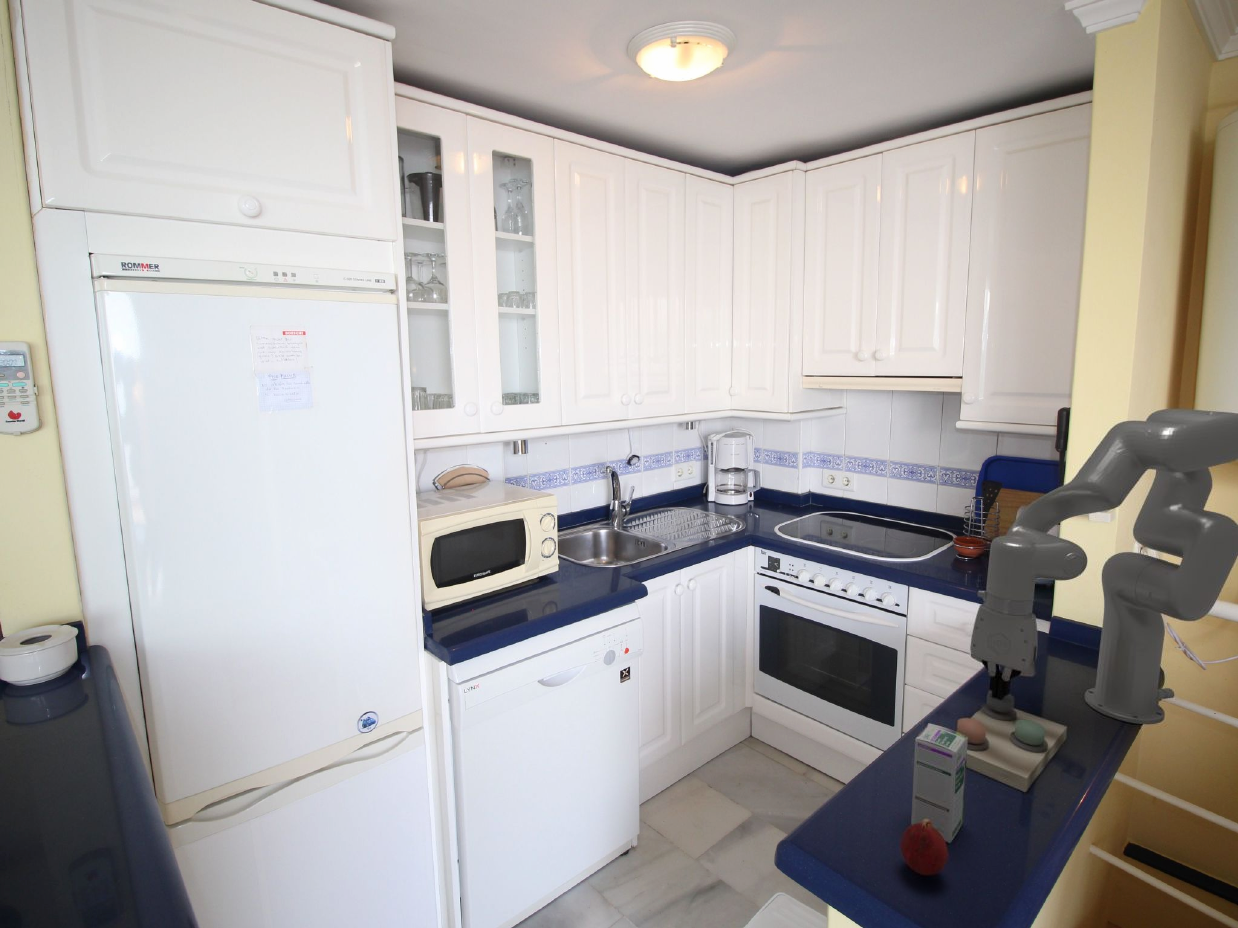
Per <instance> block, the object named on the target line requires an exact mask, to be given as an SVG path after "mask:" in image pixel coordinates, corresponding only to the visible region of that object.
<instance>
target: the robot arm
mask: <svg viewBox="0 0 1238 928" xmlns="http://www.w3.org/2000/svg"><path fill="white" fill-rule="evenodd" d="M1105 434H1106V435H1105V436H1104V437H1103V439H1102V440H1101V441H1100V442H1099V444H1098V445H1097V446H1096V447H1095V449H1094V451H1092V453H1091V454H1090V456H1089V457H1088V459H1086V461H1085V462H1084V464H1083V465H1082V467H1081V468H1080V469H1079V470H1078V472H1077V473H1076V475H1075V476H1074V477H1073V478H1072V479H1071V481H1069V482H1068V483H1066V484H1064V485H1061V486H1059V487H1056V488H1055V489H1053V490H1051V491H1049V492H1047V493H1046V494H1044V495H1042V496H1041V497H1039V498H1037V499H1036V500H1033V501H1032V502H1031V503H1030V504H1028V505H1027V506H1026V507H1025V508H1024V509H1023V510H1022V511H1021V513H1019V515H1018V516H1017V518H1016V519H1015V520H1014V522H1013V523H1012V524H1011V526H1010V527H1009V529H1008V530H1007V533H1006V534H1005V535H1002V536H1001V535H1000V536H997V537H995V538H993V539H992V541H991V543H990V550H989V559H988V567H987V568H988V570H987V580H986V590H978V591H977V598H981V599H983V603H982V604H980V605H979V607H978V610H977V612H976V616H975V619H974V624H973V628H972V634H971V639H970V649H969V650H970V658H972V659H973V660H975V661H976V662H979V663H981V664H982V666H984V668H985V669H986V670H987V673H988V675H989V676H990V680H989V691H991V690H992V695H991V696H992V697H994V698H995V697H997V698H998V699H999V700H1002V699H1003V698H1004V697H1005V696H1008V695H1009V694H1010V691H1011V685H1012V684H1011V683H1012V682H1011V681H1012V679H1013V678H1016V677H1018V676H1022V677H1023V676H1024V677H1031V678H1032V677H1034V676H1035V675H1036V674H1037V672H1036V666H1035V664H1036V662H1037V657H1038V626H1037V624H1038V623H1037V617H1036V615H1035V614H1034V613H1033V606H1034V595H1035V588H1036V587H1035V585H1036V580H1038V579H1042V580H1051V581H1069V580H1074V579H1076V578H1077V577H1079V576H1081V575H1082V574H1083V573H1084V572H1085V570H1086V568H1087V566H1088V556H1087V553H1086V551H1084V549H1083V548H1082V547H1081V546H1080V545H1078V544H1077V543H1075V542H1073V541H1071V540H1068V539H1065V538H1062V537H1059V536H1055V535H1053V534H1050V533H1049V532H1050V530H1052V529H1053V528H1054V527H1055V526H1057V525H1059V523H1062V522H1064V521H1066V520H1068V519H1071V518H1074V517H1077V516H1083V515H1084V516H1085V515H1088V514H1089V515H1090V514H1096V513H1101V512H1106V511H1111V510H1115V509H1117V508H1118V507H1120V506H1121V505H1122V504H1123V502H1124V501H1125V500H1126V498H1127V497H1128V496H1129V494H1130V493H1131V492H1132V490H1133V489H1134V488H1135V486H1136V485H1137V483H1138V482H1139V481H1140V479H1141V478H1142V477H1143V476H1144V474H1145V473H1146V472H1147V471H1148V470H1154V471H1155V476H1154V478H1153V482H1152V484H1151V487H1150V489H1149V491H1148V493H1147V495H1146V497H1145V500H1143V501H1144V502H1143V504H1142V506H1141V508H1140V510H1139V513H1138V515H1137V517H1136V520H1135V522H1134V524H1133V529H1132V534H1133V538H1134V540H1135V541H1136V542H1137V543H1138V544H1140V545H1141V546H1143V547H1146V548H1148V549H1150V550H1154V551H1156V552H1160V553H1163V554H1167V555H1171V556H1174V557H1177V558H1180V559H1181V561H1180V563H1179V564H1177V563H1173V562H1170V561H1169V560H1166V559H1161V558H1158V557H1155V556H1151V555H1147V554H1144V553H1139V552H1131V551H1124V552H1118V553H1116V554H1113V555H1111V556H1110V557H1109V558H1108V559H1107V560H1106V561H1105V563H1104V564H1103V566H1102V570H1101V586H1102V592H1103V593H1102V594H1103V605H1104V606H1103V619H1102V628H1101V637H1100V644H1099V654H1098V662H1097V669H1096V670H1097V671H1096V679H1095V681H1096V682H1095V687H1092V688H1089V689H1087V690H1086V691H1085V693H1084V700H1085V702H1086V704H1088V705H1089V707H1091V708H1092V709H1093V710H1096V711H1097V712H1099V713H1100V714H1103V715H1105V716H1107V717H1110V718H1113V719H1116V720H1118V721H1123V722H1126V723H1131V724H1137V725H1157V724H1159V723H1161V722H1163V721H1164V720H1165V715H1166V713H1165V710H1164V709H1163V707H1161V705H1160V702H1161V701H1162V700H1166V699H1173V698H1174V697H1175V692H1174V690H1173V689H1171V687H1164V688H1158V687H1159V680H1160V672H1161V665H1162V658H1163V657H1162V656H1163V650H1164V640H1165V632H1166V629H1165V622H1164V619H1163V616H1162V615H1164V616H1166V617H1170V618H1172V619H1176V620H1179V621H1184V622H1196V621H1198V620H1201V619H1203V618H1205V617H1206V616H1207V615H1208V614H1209V612H1210V611H1211V610H1212V609H1213V607H1214V605H1215V604H1216V602H1217V600H1218V598H1219V596H1220V594H1221V592H1222V589H1223V588H1224V585H1225V584H1226V582H1227V579H1228V578H1229V575H1230V573H1231V572H1232V569H1233V568H1234V565H1235V563H1236V561H1237V559H1238V523H1237V522H1236V521H1235V520H1234V519H1233V518H1232V517H1230V516H1228V515H1225V514H1223V513H1220V512H1219V513H1218V512H1215V511H1211V510H1207V509H1205V507H1206V505H1207V503H1208V499H1209V497H1210V495H1211V493H1212V489H1213V476H1212V472H1211V471H1210V468H1212V467H1216V466H1219V465H1224V464H1229V463H1232V462H1235V461H1237V460H1238V413H1236V412H1231V411H1230V412H1229V411H1216V410H1202V409H1201V410H1200V409H1190V408H1189V409H1188V408H1165V409H1159V410H1156V411H1153V412H1152V413H1150V414H1149V415H1148V416H1147V418H1146V419H1145V420H1125V421H1121V422H1118V423H1117V424H1114V425H1113V426H1112V428H1110V429H1109V430H1108V432H1107V433H1105ZM1001 667H1004V669H1003V672H1002V671H1001Z"/></svg>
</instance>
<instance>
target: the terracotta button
mask: <svg viewBox="0 0 1238 928" xmlns="http://www.w3.org/2000/svg"><path fill="white" fill-rule="evenodd" d="M970 718H971V717H970ZM970 718H969V717H962V718H959V719H958V720H957V724H956V725H957V728H956V730H957V732H958V733H961V734H963V735H965V736H967V737H968V742H969V743H974V744H980V743H983V742H985V736H986V726H985V725H984V724H983V723H981V722H980V721H977V720H974V719H970Z"/></svg>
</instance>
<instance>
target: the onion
mask: <svg viewBox="0 0 1238 928" xmlns="http://www.w3.org/2000/svg"><path fill="white" fill-rule="evenodd" d="M931 825H932V822H931V821H930V820H929V819H923V821H922V822H921V823H916V824H913V825H911V824H910V825H909V826H908V827H907V828H905V830H904V831H903V834H902V836H901V840H900V849H901V850H900V851H901V855H902V857H903V858H904V861H905V862H906V864H907V866H908V867H909V868H910V869H911V870H913V871H914V872H915V873H918V874H920V875H922V876H931V875H932V876H933V875H937V874H939V872H941V871H942V870H943V869H944V868H945V867H946V865H947V862H948V859H949V850H948V847H947V844H946V843H947V842H946V841H945V840H944V838H943V837H942V835H941V834H940V833H939V832H938V831H937V830H936V829H935V828H934V827H932V826H931Z"/></svg>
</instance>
